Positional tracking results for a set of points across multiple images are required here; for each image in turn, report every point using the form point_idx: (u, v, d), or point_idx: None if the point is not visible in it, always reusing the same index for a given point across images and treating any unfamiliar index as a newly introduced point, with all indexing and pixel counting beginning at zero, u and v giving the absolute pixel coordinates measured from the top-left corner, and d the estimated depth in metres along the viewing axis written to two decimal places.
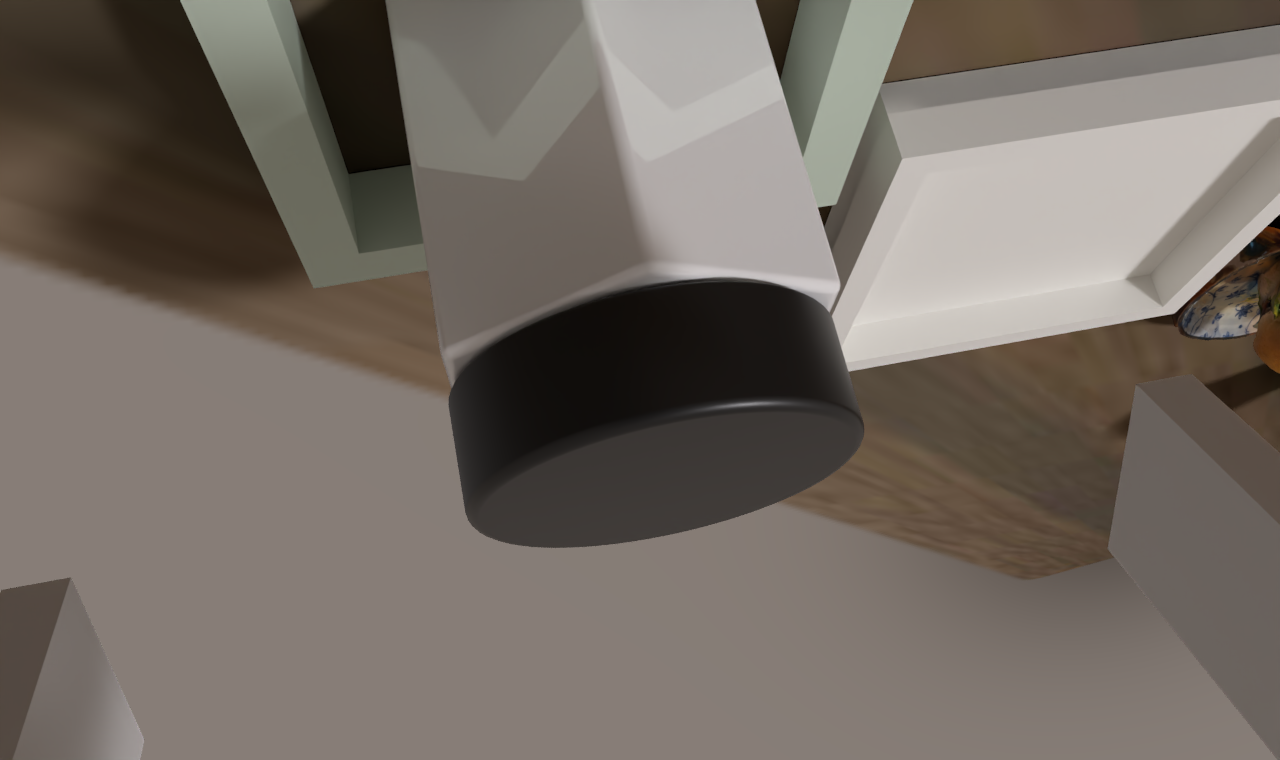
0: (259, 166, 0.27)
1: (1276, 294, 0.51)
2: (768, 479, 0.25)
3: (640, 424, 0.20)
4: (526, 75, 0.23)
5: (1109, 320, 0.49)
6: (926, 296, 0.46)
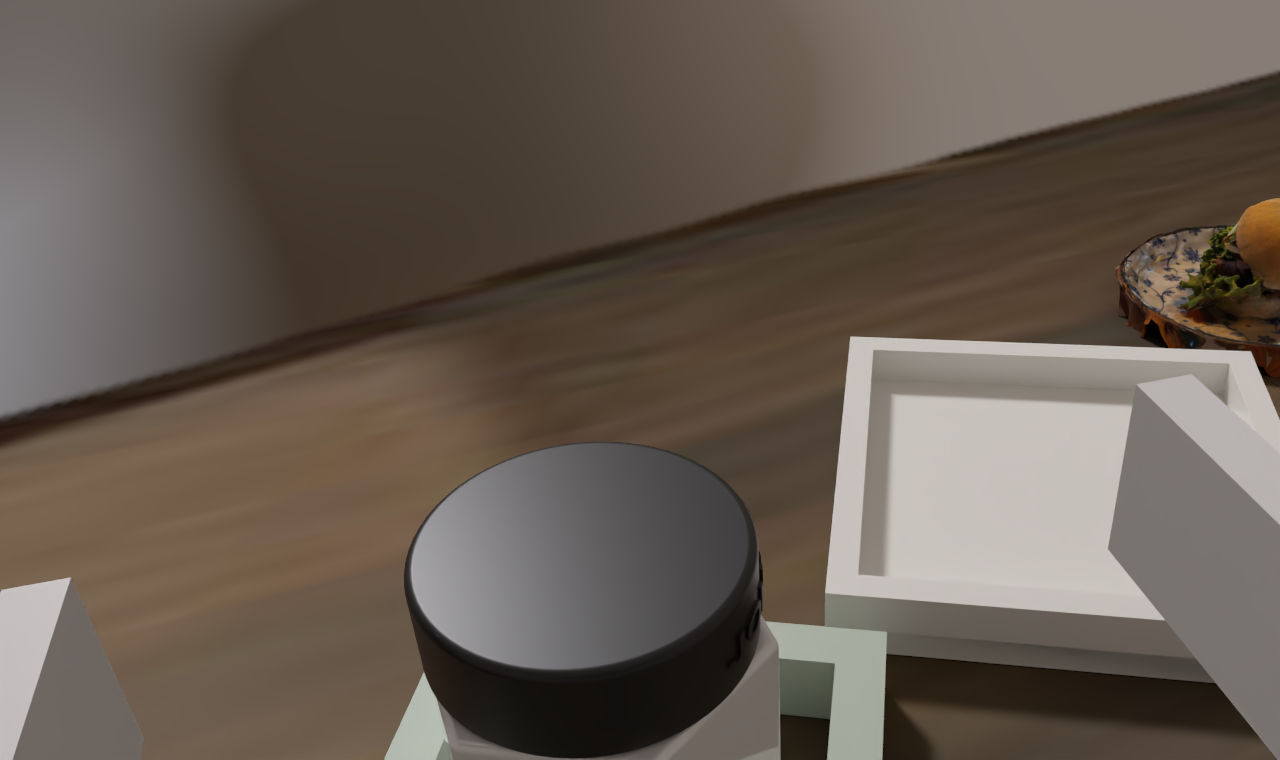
0: None
1: (1249, 295, 0.53)
2: (631, 485, 0.29)
3: (412, 554, 0.27)
4: None
5: (1253, 393, 0.46)
6: None
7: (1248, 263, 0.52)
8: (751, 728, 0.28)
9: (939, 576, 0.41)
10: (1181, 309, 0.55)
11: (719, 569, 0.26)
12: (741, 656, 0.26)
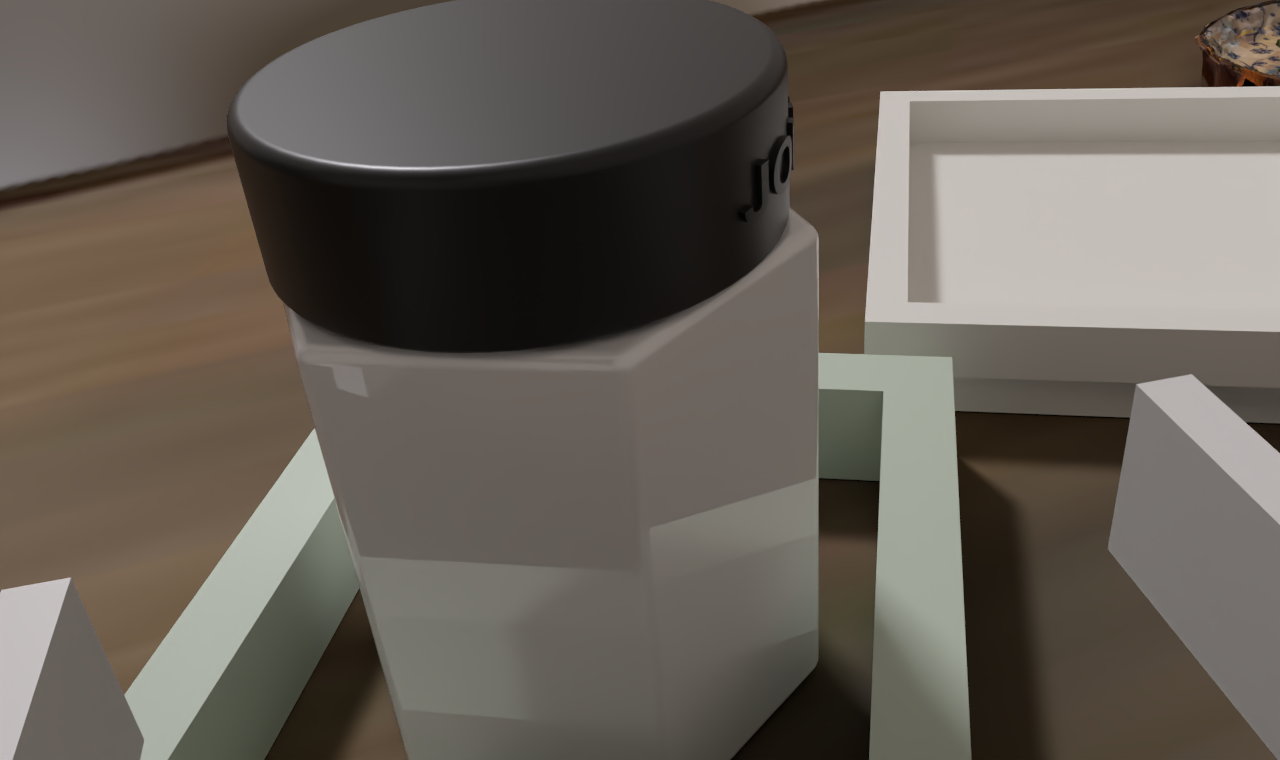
0: None
1: None
2: (590, 16, 0.19)
3: None
4: None
5: None
6: None
7: None
8: (777, 368, 0.18)
9: None
10: (1278, 76, 0.46)
11: (726, 70, 0.16)
12: (762, 209, 0.16)
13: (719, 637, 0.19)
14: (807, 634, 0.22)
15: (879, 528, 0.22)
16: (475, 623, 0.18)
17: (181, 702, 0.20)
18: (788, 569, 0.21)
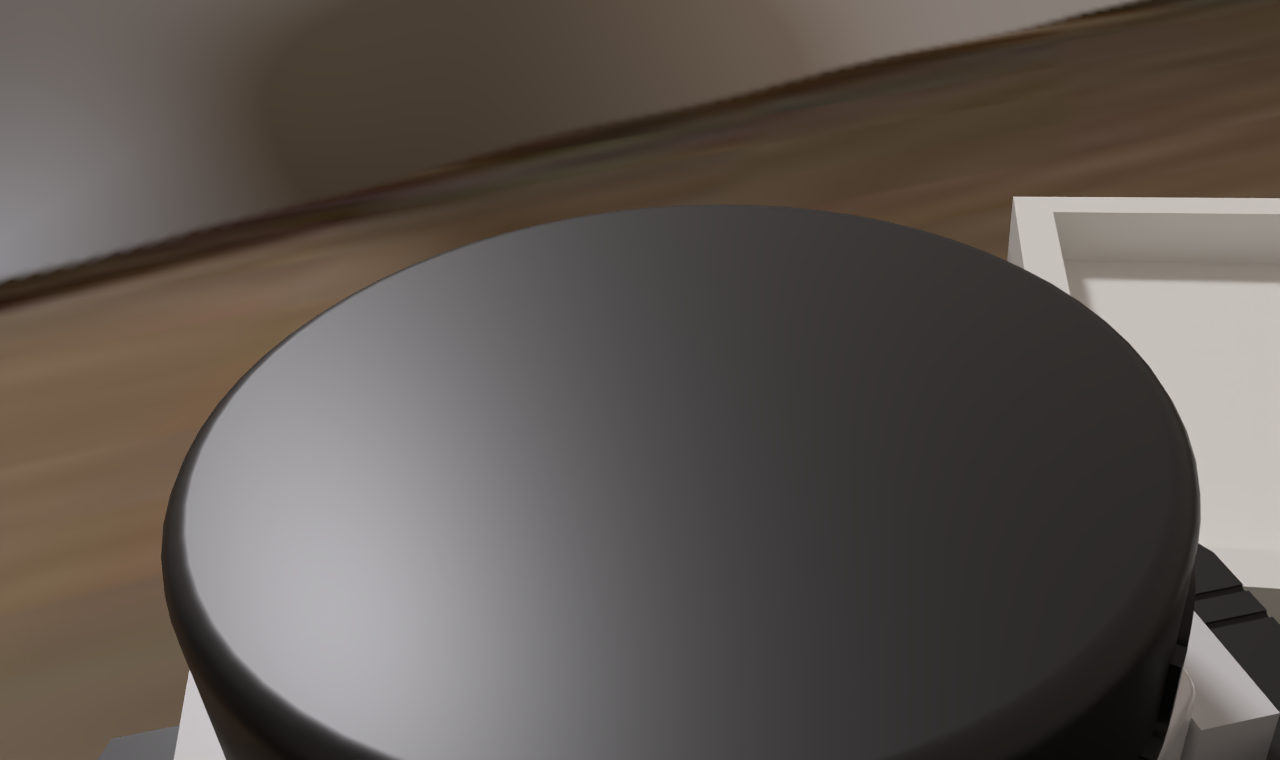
0: None
1: None
2: (783, 279, 0.11)
3: None
4: None
5: None
6: None
7: None
8: None
9: (1244, 546, 0.24)
10: None
11: (1097, 464, 0.09)
12: (1167, 729, 0.09)
13: None
14: None
15: None
16: None
17: None
18: None
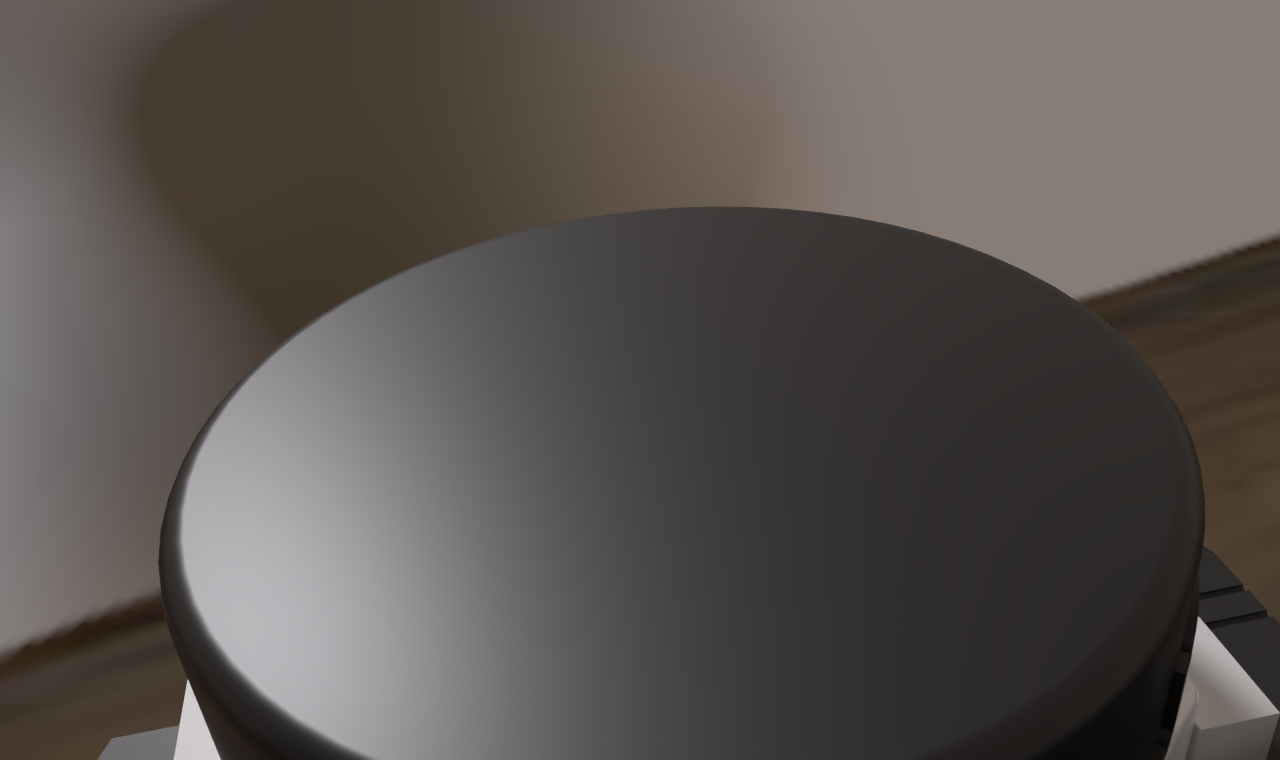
0: None
1: None
2: (784, 282, 0.11)
3: (200, 447, 0.10)
4: None
5: None
6: None
7: None
8: None
9: None
10: None
11: (1100, 470, 0.09)
12: (1172, 736, 0.09)
13: None
14: None
15: None
16: None
17: None
18: None
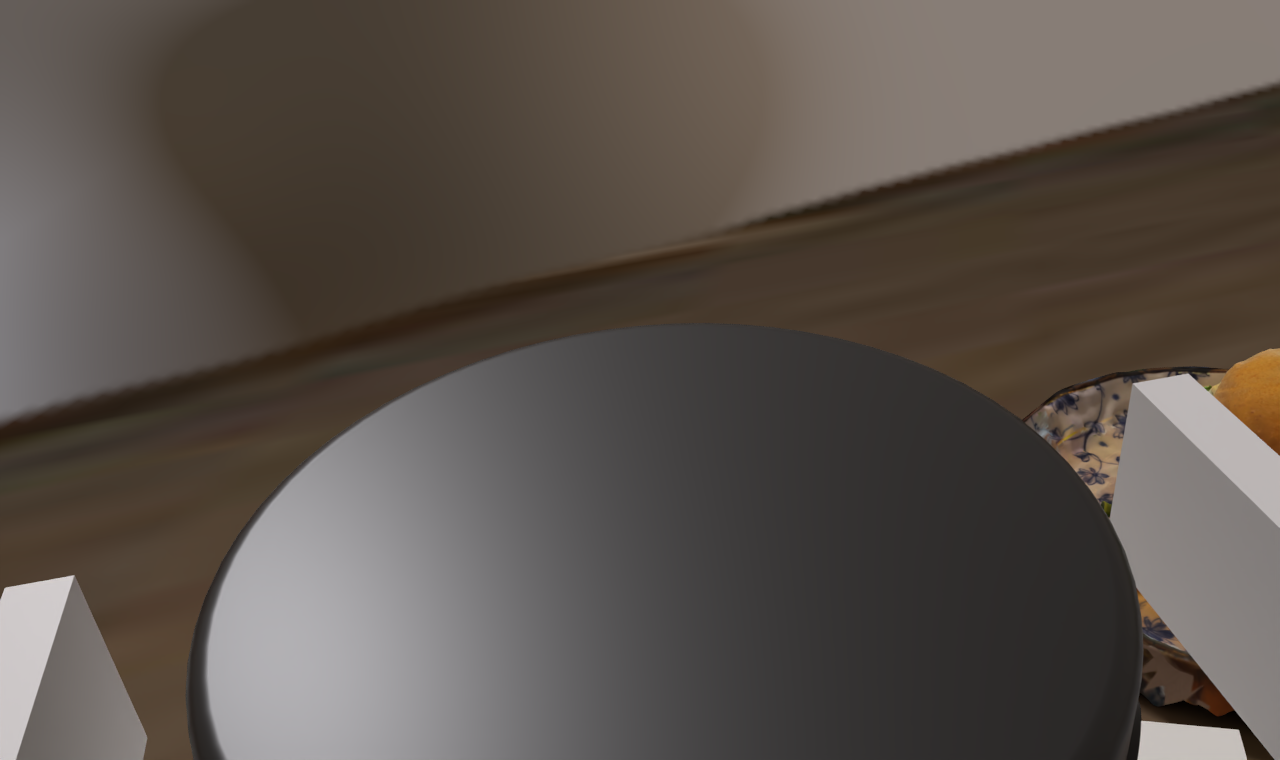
0: None
1: None
2: (768, 410, 0.12)
3: (224, 577, 0.11)
4: None
5: None
6: None
7: None
8: None
9: None
10: None
11: (1048, 621, 0.09)
12: None
13: None
14: None
15: None
16: None
17: None
18: None
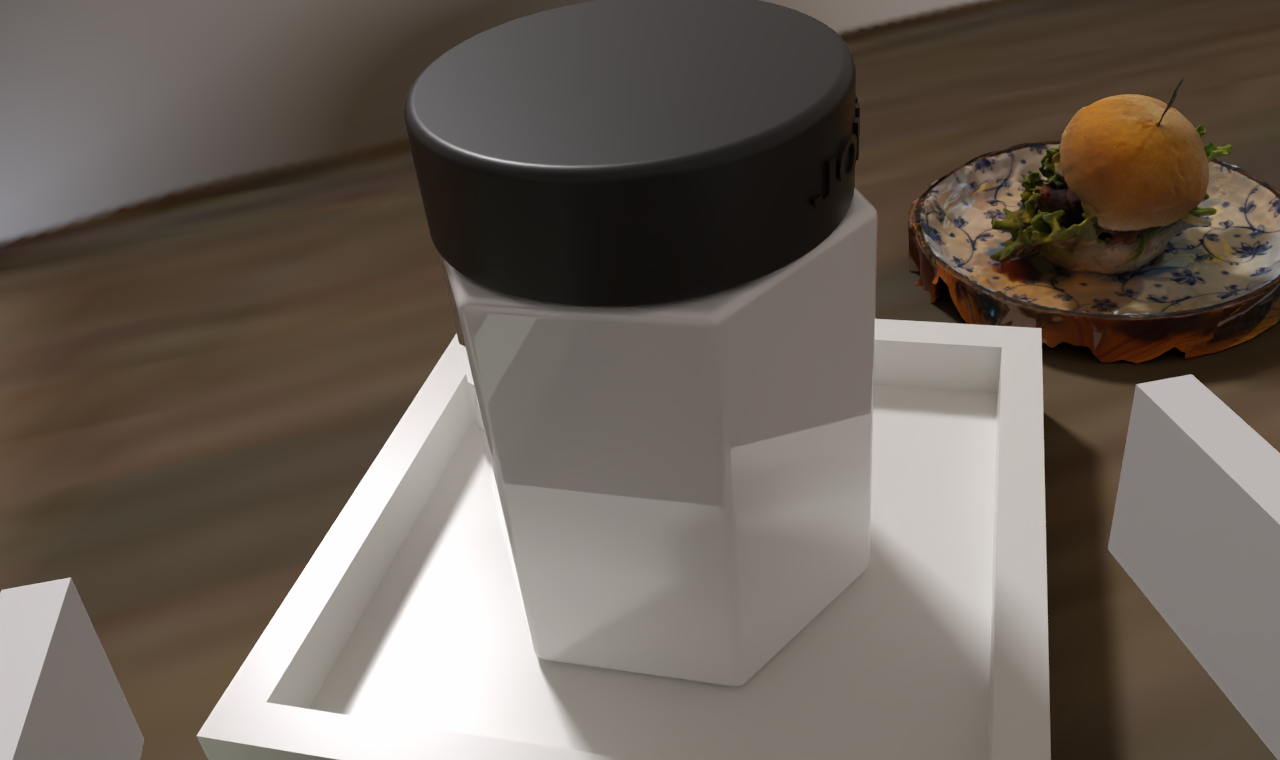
0: None
1: (1081, 239, 0.36)
2: (694, 23, 0.23)
3: None
4: (480, 427, 0.26)
5: (1020, 397, 0.29)
6: (902, 681, 0.25)
7: (1075, 192, 0.35)
8: (839, 322, 0.22)
9: (439, 695, 0.26)
10: (995, 260, 0.38)
11: (804, 82, 0.20)
12: (829, 196, 0.20)
13: (784, 538, 0.24)
14: (860, 541, 0.26)
15: None
16: (588, 519, 0.23)
17: None
18: (844, 486, 0.25)
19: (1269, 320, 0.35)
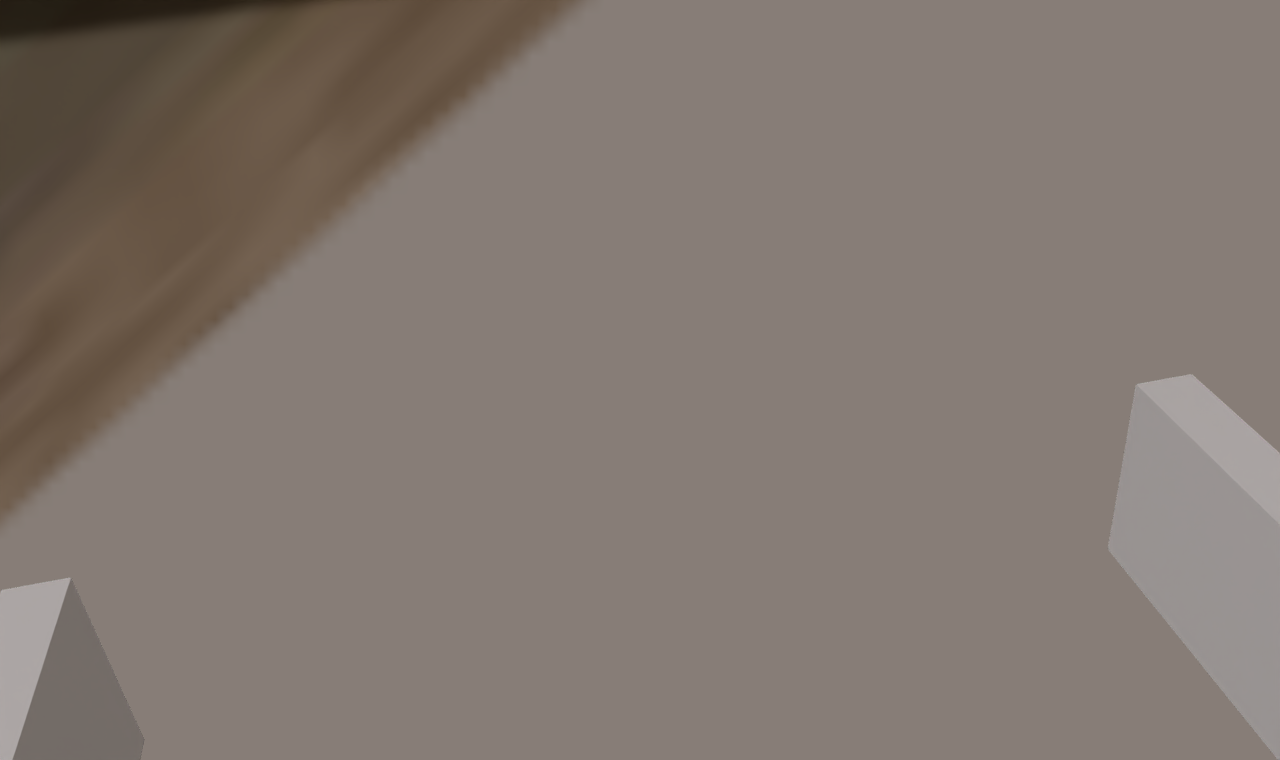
0: None
1: None
2: None
3: None
4: None
5: None
6: None
7: None
8: None
9: None
10: None
11: None
12: None
13: None
14: None
15: None
16: None
17: None
18: None
19: None
